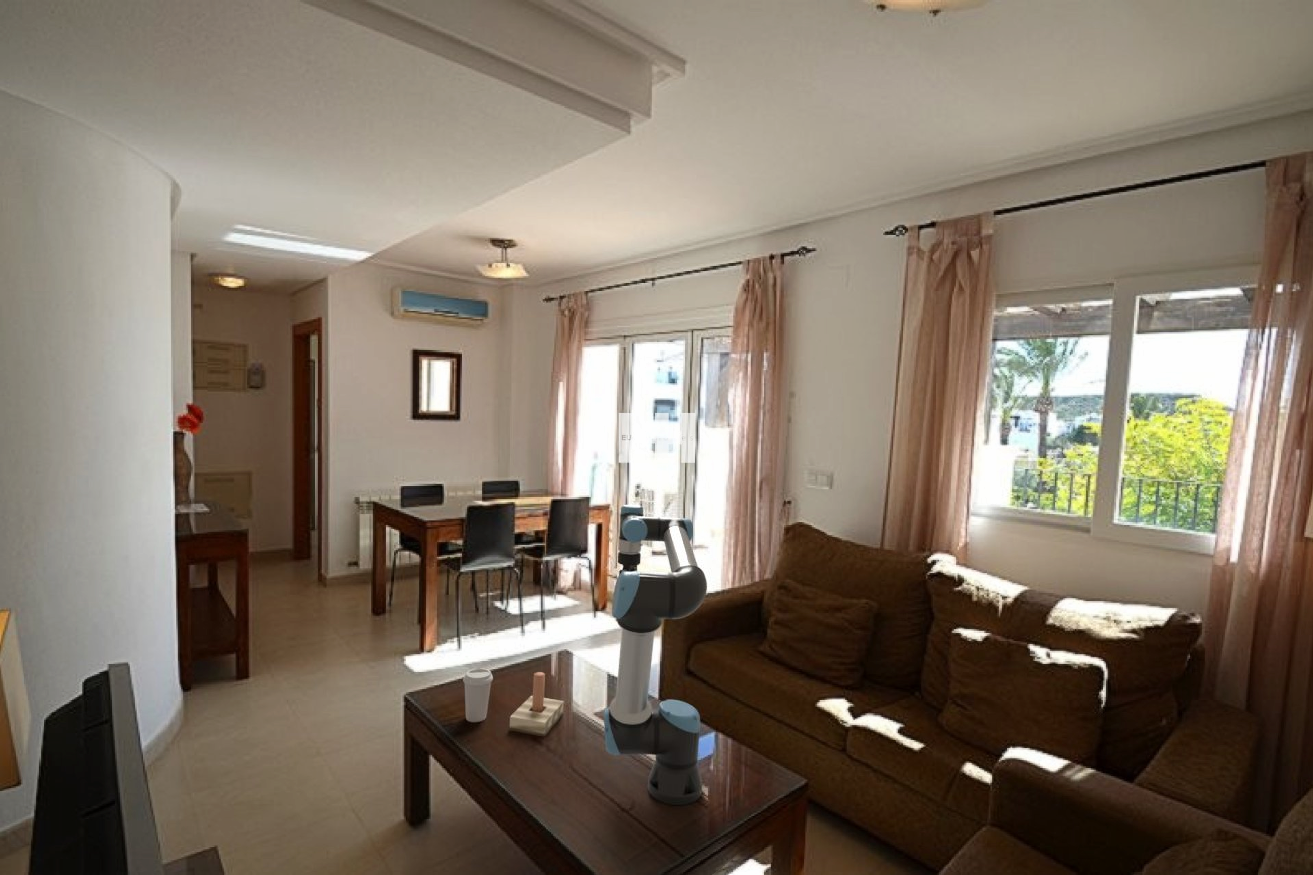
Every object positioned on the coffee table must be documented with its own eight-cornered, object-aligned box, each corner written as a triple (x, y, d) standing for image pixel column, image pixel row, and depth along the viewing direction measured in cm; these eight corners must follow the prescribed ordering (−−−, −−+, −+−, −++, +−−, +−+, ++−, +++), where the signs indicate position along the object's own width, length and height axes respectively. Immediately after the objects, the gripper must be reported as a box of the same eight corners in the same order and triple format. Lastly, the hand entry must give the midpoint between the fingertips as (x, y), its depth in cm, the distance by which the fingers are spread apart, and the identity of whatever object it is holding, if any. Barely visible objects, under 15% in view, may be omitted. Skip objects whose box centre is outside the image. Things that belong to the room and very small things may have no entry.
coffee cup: (495, 712, 212) (497, 668, 212) (484, 725, 203) (487, 680, 202) (467, 709, 213) (470, 665, 213) (456, 722, 204) (458, 677, 203)
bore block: (544, 736, 198) (545, 722, 198) (509, 730, 201) (510, 716, 201) (563, 714, 214) (563, 701, 214) (530, 708, 216) (531, 695, 216)
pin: (539, 722, 205) (542, 677, 204) (529, 720, 206) (532, 675, 205) (544, 717, 208) (546, 672, 208) (534, 715, 209) (536, 671, 209)
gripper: (630, 560, 194) (626, 628, 195) (649, 546, 219) (645, 606, 219) (607, 558, 196) (603, 625, 197) (628, 543, 220) (625, 603, 221)
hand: (625, 615), depth 208 cm, fingers open, 13 cm apart
